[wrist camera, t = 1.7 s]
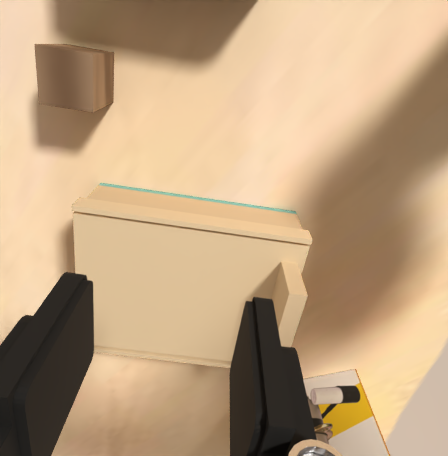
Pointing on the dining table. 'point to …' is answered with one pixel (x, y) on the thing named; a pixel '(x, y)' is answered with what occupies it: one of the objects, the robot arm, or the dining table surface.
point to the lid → (183, 279)
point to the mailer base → (195, 205)
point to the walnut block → (74, 76)
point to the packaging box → (344, 414)
